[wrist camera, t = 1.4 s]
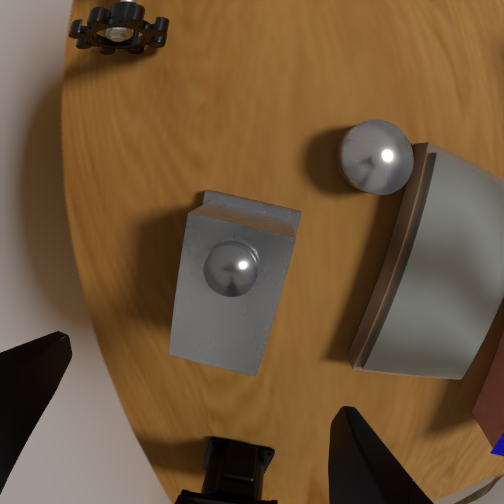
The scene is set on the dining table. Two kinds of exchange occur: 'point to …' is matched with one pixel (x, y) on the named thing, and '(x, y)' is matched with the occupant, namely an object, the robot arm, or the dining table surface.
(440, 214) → the stand
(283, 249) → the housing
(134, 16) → the valve
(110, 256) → the dining table surface
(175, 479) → the dining table surface
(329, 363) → the dining table surface
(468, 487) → the dining table surface
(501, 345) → the house
